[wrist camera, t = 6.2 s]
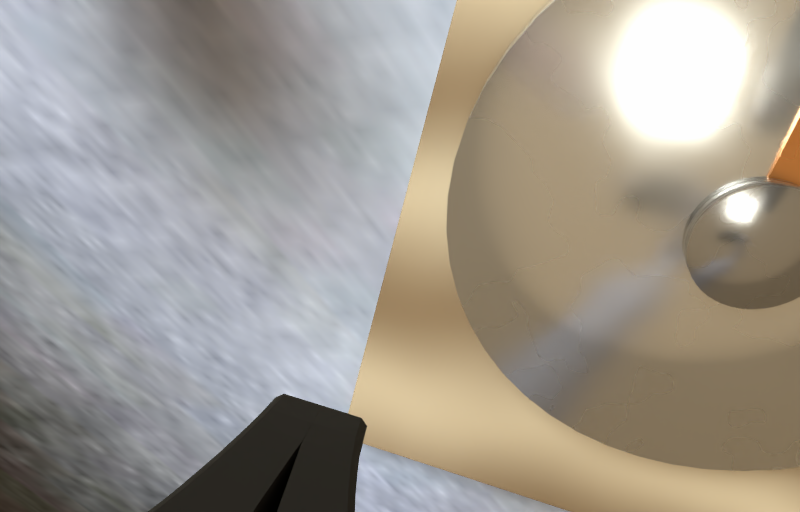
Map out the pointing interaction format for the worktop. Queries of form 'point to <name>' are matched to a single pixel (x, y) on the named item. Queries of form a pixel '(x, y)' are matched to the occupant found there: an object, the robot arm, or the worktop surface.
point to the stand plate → (472, 366)
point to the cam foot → (642, 225)
